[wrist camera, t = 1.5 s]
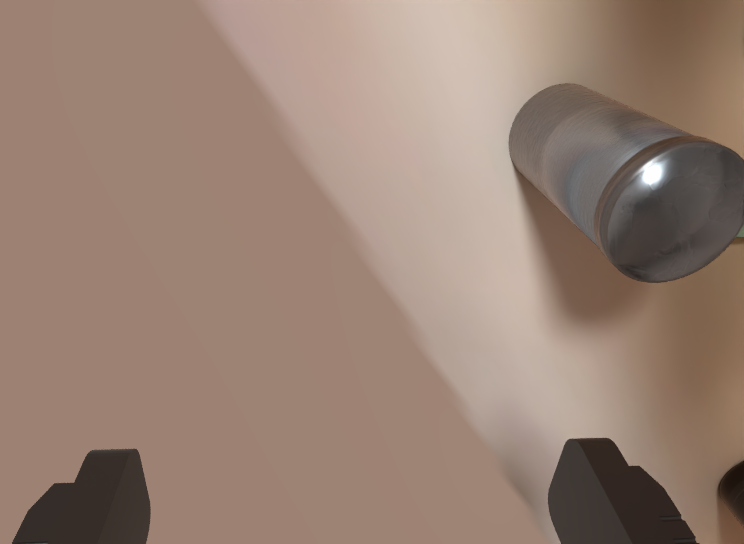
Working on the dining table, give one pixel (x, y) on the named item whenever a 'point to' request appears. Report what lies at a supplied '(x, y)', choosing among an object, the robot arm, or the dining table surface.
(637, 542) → the robot arm
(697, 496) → the dining table surface
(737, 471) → the supplement bottle
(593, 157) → the slate canister
